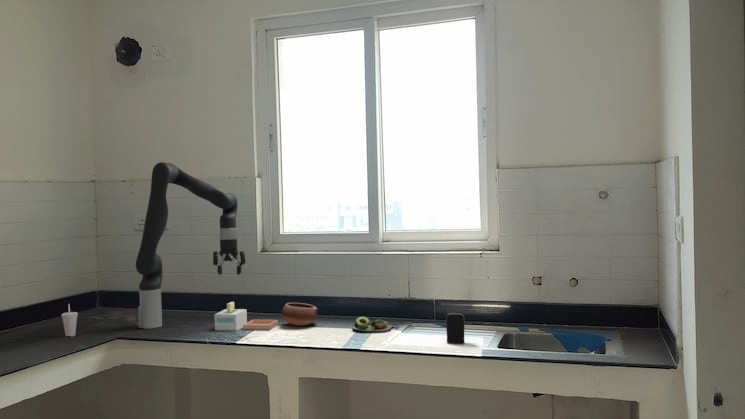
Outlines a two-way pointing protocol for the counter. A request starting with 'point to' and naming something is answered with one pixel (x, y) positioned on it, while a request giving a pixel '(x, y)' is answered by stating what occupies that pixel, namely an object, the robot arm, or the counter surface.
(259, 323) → the dish
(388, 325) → the salad plate
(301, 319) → the bowl
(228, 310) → the pale yellow flat piece
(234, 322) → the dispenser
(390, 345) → the counter surface
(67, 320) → the smoothie
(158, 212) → the robot arm
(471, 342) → the counter surface
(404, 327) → the counter surface
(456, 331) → the battery
